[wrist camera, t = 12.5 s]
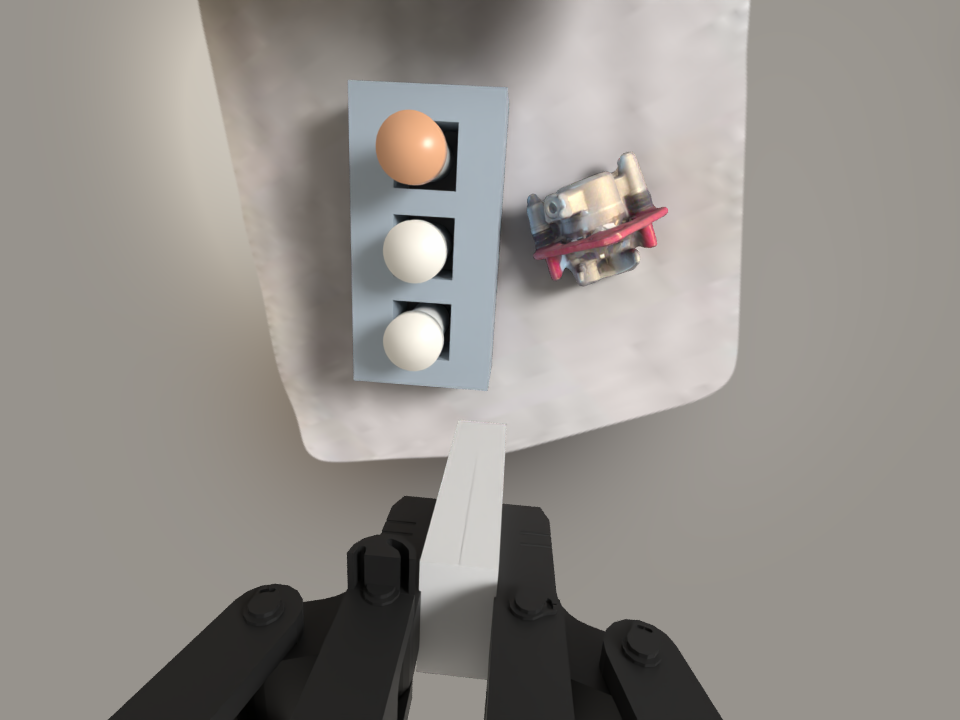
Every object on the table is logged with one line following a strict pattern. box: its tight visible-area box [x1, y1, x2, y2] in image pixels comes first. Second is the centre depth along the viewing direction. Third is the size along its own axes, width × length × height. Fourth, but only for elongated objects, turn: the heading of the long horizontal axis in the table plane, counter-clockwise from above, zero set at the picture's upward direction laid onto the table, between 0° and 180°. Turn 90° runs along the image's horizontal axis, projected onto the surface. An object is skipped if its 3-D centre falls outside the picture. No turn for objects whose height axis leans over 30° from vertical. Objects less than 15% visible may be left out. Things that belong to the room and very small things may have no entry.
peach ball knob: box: [376, 110, 453, 185], centre depth 38 cm, size 5×5×9 cm
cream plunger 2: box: [383, 302, 449, 371], centre depth 44 cm, size 5×5×9 cm
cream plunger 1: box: [383, 220, 452, 283], centre depth 42 cm, size 5×5×9 cm
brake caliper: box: [527, 152, 668, 286], centre depth 43 cm, size 11×11×12 cm
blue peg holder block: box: [348, 80, 509, 391], centre depth 44 cm, size 24×12×7 cm, turn 177°
